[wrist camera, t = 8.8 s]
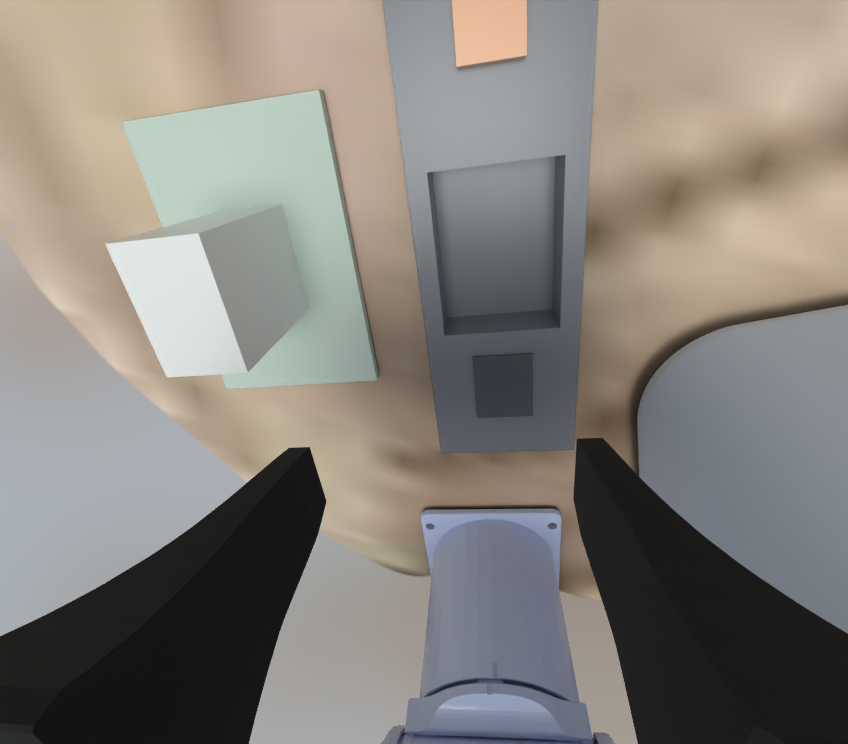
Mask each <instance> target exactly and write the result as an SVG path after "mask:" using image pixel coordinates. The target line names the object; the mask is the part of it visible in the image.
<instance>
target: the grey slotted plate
mask: <svg viewBox="0 0 848 744" xmlns="http://www.w3.org/2000/svg"><path fill="white" fill-rule="evenodd" d="M382 2H383V9H384V17H385V25H386V33H387V40H388V48H389V56H390V63H391V71H392V79H393V86H394V94H395V102H396V110H397V117H398V125H399V133H400V140H401V148H402V156H403V164H404V171H405V179H406V187H407V194H408V202H409V210H410V217H411V225H412V233H413V241H414V248H415V256H416V264H417V271H418V279H419V287H420V294H421V302H422V310H423V318H424V325H425V333H426V341H427V348H428V356H429V364H430V371H431V379H432V387H433V395H434V402H435V410H436V418H437V425H438V433H439V441H440V448H441V454H444V453H480V452H515V451H551V450H574V435H575V417H576V399H577V380H578V362H579V344H580V326H581V308H582V289H583V271H584V253H585V235H586V217H587V198H588V180H589V162H590V144H591V126H592V107H593V89H594V71H595V53H596V35H597V16H598V0H382Z"/></svg>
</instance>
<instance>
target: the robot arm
mask: <svg viewBox="0 0 848 744" xmlns="http://www.w3.org/2000/svg"><path fill="white" fill-rule="evenodd" d="M574 503H575V508H576V513H577V519H578V523H579V528H580V533H581V537H582V540H583V543H584V546H585V549H586V553H587V556H588V559H589V562H590V565H591V568H592V571H593V574H594V577H595V580H596V583H597V586H598V589H599V592H600V595H601V598H602V601H603V604H604V607H605V610H606V613H607V616H608V620H609V623H610V626H611V630H612V633H613V637H614V640H615V644H616V647H617V652H618V656H619V660H620V665H621V669H622V674H623V678H624V682H625V687H626V691H627V696H628V700H629V705H630V709H631V714H632V718H633V723H634V727H635V732H636V737H637V741H638V744H848V633H846V632H844V631H843V630H841V629H839V628H838V627H836V626H834V625H833V624H831V623H829V622H828V621H826V620H824V619H823V618H821V617H819V616H818V615H816V614H815V613H813V612H811V611H810V610H808V609H807V608H805V607H803V606H802V605H800V604H799V603H797V602H796V601H794V600H793V599H791V598H790V597H788V596H787V595H785V594H784V593H782V592H781V591H779V590H778V589H776V588H775V587H773V586H772V585H770V584H769V583H767V582H766V581H764V580H763V579H761V578H760V577H758V576H757V575H755V574H754V573H753V572H751V571H750V570H748V569H747V568H745V567H744V566H743V565H741V564H740V563H739V562H737V561H736V560H735V559H733V558H732V557H731V556H729V555H728V554H727V553H725V552H724V551H723V550H721V549H720V548H719V547H717V546H716V545H715V544H714V543H712V542H711V541H710V540H708V539H707V538H706V537H705V536H703V535H702V534H701V533H700V532H699V531H697V530H696V529H695V528H694V527H693V526H692V525H690V524H689V523H688V522H687V521H686V520H685V519H684V518H682V517H681V516H680V515H679V514H678V513H677V512H676V511H674V510H673V509H672V508H671V507H670V506H669V505H668V504H667V503H666V502H665V501H664V500H663V499H662V498H660V497H659V496H658V495H657V494H656V493H655V492H654V491H653V490H652V489H651V488H650V487H649V486H648V485H647V484H646V483H645V482H644V481H643V480H642V479H641V478H640V477H639V476H638V475H637V474H636V473H635V472H634V471H633V470H632V469H631V468H630V467H629V466H628V465H627V464H626V462H625V461H624V460H623V459H622V458H621V457H620V456H619V455H618V454H617V453H616V452H615V451H614V450H613V448H612V447H611V446H610V445H609V444H608V443H607V442H606V441H605V440H604V439H603V438H588V439H577V448H576V465H575V482H574ZM325 505H326V499H325V495H324V492H323V489H322V486H321V482H320V479H319V476H318V473H317V470H316V466H315V463H314V460H313V457H312V454H311V450H310V447H304V448H289V449H287V450H286V451H285V452H283V453H282V454H281V455H280V456H278V457H277V458H276V459H275V460H273V461H272V462H271V463H270V464H269V465H268V466H266V467H265V468H264V469H263V470H262V471H261V472H259V473H258V474H257V475H256V476H255V477H254V478H252V479H251V480H250V481H249V482H248V483H246V484H245V485H244V486H243V487H242V488H241V489H239V490H238V491H237V492H236V493H235V494H233V495H232V496H231V497H230V498H229V499H228V500H226V501H225V502H224V503H222V504H221V505H220V506H219V507H217V508H216V509H215V510H213V511H212V512H211V513H210V514H208V515H207V516H206V517H205V518H203V519H202V520H201V521H199V522H198V523H197V524H196V525H194V526H193V527H192V528H190V529H189V530H187V531H186V532H185V533H184V534H182V535H180V536H179V537H178V538H176V539H175V540H173V541H172V542H171V543H169V544H168V545H166V546H164V547H163V548H162V549H160V550H159V551H157V552H156V553H154V554H152V555H151V556H149V557H148V558H146V559H145V560H143V561H141V562H140V563H138V564H136V565H135V566H133V567H131V568H130V569H128V570H126V571H125V572H123V573H121V574H120V575H118V576H116V577H115V578H113V579H111V580H110V581H108V582H106V583H105V584H103V585H101V586H99V587H98V588H96V589H94V590H92V591H90V592H89V593H87V594H85V595H83V596H81V597H79V598H78V599H76V600H74V601H72V602H70V603H68V604H66V605H64V606H62V607H60V608H58V609H56V610H54V611H53V612H51V613H49V614H47V615H45V616H43V617H41V618H39V619H37V620H34V621H32V622H30V623H28V624H26V625H24V626H22V627H20V628H17V629H15V630H13V631H11V632H9V633H7V634H4V635H3V636H0V744H249V740H250V736H251V732H252V728H253V724H254V719H255V716H256V712H257V708H258V705H259V701H260V697H261V694H262V690H263V686H264V683H265V679H266V676H267V672H268V668H269V665H270V662H271V658H272V655H273V652H274V648H275V645H276V642H277V638H278V635H279V631H280V629H281V626H282V624H283V621H284V618H285V615H286V613H287V610H288V608H289V605H290V603H291V600H292V598H293V595H294V593H295V590H296V588H297V585H298V583H299V581H300V578H301V576H302V573H303V571H304V568H305V566H306V563H307V561H308V558H309V556H310V553H311V551H312V548H313V546H314V543H315V541H316V538H317V535H318V532H319V528H320V525H321V521H322V517H323V513H324V509H325ZM421 523H422V529H423V534H424V540H425V546H426V551H427V557H428V563H429V569H430V574H431V590H430V600H429V610H428V619H427V629H426V640H425V650H424V660H423V670H422V680H421V691H420V698H415V699H414V698H411V699H409V701H408V709H407V717H406V726H400V725H399V726H395V727H393V728H392V729H391V730H390V731H389V732H388V734H387V735H386V737H385V739H384V741H383V742H382V743H381V744H615V743H614V742H613V740H612V738H611V737H610V736H609V735H608V734H606V733H595V732H594V733H593V739H592V734H591V729H590V724H589V719H588V714H587V708H586V705H585V704H584V703H581V702H579V697H578V691H577V686H576V680H575V675H574V670H573V664H572V659H571V653H570V648H569V643H568V637H567V632H566V626H565V621H564V615H563V610H562V605H561V599H560V594H559V570H560V547H561V523H562V518H561V514H560V512H559V511H558V510H556V509H456V510H425V511H423V513H422V516H421ZM429 523H431V524H429ZM550 523H554V524H550Z"/></svg>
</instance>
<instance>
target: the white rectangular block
mask: <svg viewBox="0 0 848 744" xmlns="http://www.w3.org/2000/svg"><path fill="white" fill-rule="evenodd" d="M106 247H107V249H108V251H109V253H110V255H111V257H112V260H113V262H114V264H115V266H116V268H117V270H118V273H119V275H120V277H121V279H122V281H123V283H124V285H125V288H126V290H127V292H128V294H129V296H130V298H131V301H132V303H133V305H134V307H135V309H136V311H137V314H138V316H139V318H140V320H141V322H142V324H143V327H144V329H145V331H146V333H147V335H148V337H149V340H150V342H151V344H152V346H153V348H154V350H155V353H156V355H157V357H158V359H159V361H160V363H161V366H162V368H163V370H164V372H165V374H166V376H167V377H181V376H198V375H215V374H231V373H248V372H249V371H250V370H251V369H252V368H253V367H254V366H255V365H256V364H257V363H258V362H259V361H260V360H261V358H262V357H263V356H264V355H265V354H266V353H267V352H268V351H269V350H270V349H271V348H272V347H273V346H274V345H275V344H276V343H277V342H278V341H279V340H280V339H281V338H282V337H283V336H284V335H285V334H286V333H287V331H288V330H289V329H290V328H291V327H292V326H293V325H294V324H295V323H296V322H297V321H298V320H299V319H300V318H301V317H302V316H303V315H304V314H305V313H306V312H307V311H308V310H309V307H308V303H307V299H306V295H305V291H304V287H303V283H302V280H301V276H300V272H299V268H298V264H297V260H296V257H295V253H294V249H293V245H292V241H291V237H290V234H289V230H288V226H287V222H286V218H285V214H284V210H283V207H282V204H279V205H271V206H263V207H255V208H246V209H238V210H230V211H222V212H214V213H210V214H207V215H204V216H200V217H197V218H193V219H190V220H186V221H183V222H179V223H176V224H172V225H169V226H166V227H162V228H159V229H155V230H152V231H148V232H145V233H141V234H138V235H135V236H131V237H128V238H124V239H121V240H117V241H114V242H110V243H107V244H106Z"/></svg>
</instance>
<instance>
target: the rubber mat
mask: <svg viewBox="0 0 848 744" xmlns="http://www.w3.org/2000/svg"><path fill="white" fill-rule="evenodd" d="M122 124H123V127H124V129H125V132H126V135H127V137H128V140H129V142H130V145H131V147H132V150H133V152H134V155H135V157H136V160H137V162H138V165H139V168H140V170H141V173H142V175H143V178H144V180H145V183H146V185H147V188H148V190H149V193H150V196H151V198H152V201H153V203H154V206H155V208H156V211H157V213H158V216H159V218H160V221H161V223H162V226H163V227H166V226H169V225H172V224H176V223H179V222H183V221H186V220H190V219H193V218H197V217H200V216H204V215H207V214H210V213H214V212H222V211H230V210H238V209H246V208H255V207H263V206H271V205H279V204H282V207H283V210H284V214H285V218H286V222H287V226H288V230H289V234H290V237H291V241H292V245H293V249H294V253H295V257H296V260H297V264H298V268H299V272H300V276H301V280H302V283H303V287H304V291H305V295H306V299H307V303H308V307H309V310H308V311H307V312H306V313H305V314H304V315H303V316H302V317H301V318H300V319H299V320H298V321H297V322H296V323H295V324H294V325H293V326H292V327H291V328H290V329H289V330H288V331H287V333H286V334H285V335H284V336H283V337H282V338H281V339H280V340H279V341H278V342H277V343H276V344H275V345H274V346H273V347H272V348H271V349H270V350H269V351H268V352H267V353H266V354H265V355H264V356H263V357H262V358H261V360H260V361H259V362H258V363H257V364H256V365H255V366H254V367H253V368H252V369H251V370H250V371H249V372H248V373H231V374H221V376H222V378H223V381H224V383H225V386H226V388H227V389H234V388H252V387H270V386H288V385H306V384H325V383H343V382H361V381H377V379H378V376H379V374H378V369H377V364H376V359H375V354H374V348H373V343H372V338H371V333H370V328H369V323H368V318H367V313H366V307H365V302H364V297H363V292H362V287H361V282H360V277H359V272H358V267H357V261H356V256H355V251H354V246H353V241H352V236H351V231H350V226H349V221H348V215H347V210H346V205H345V200H344V195H343V190H342V185H341V180H340V175H339V169H338V164H337V159H336V154H335V149H334V144H333V139H332V134H331V129H330V123H329V118H328V113H327V108H326V103H325V98H324V93H323V91H321V90H315V91H309V92H303V93H297V94H291V95H285V96H279V97H272V98H266V99H260V100H254V101H248V102H242V103H236V104H230V105H223V106H217V107H211V108H205V109H199V110H193V111H187V112H181V113H174V114H168V115H162V116H156V117H150V118H144V119H138V120H132V121H125V122H122Z"/></svg>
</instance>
